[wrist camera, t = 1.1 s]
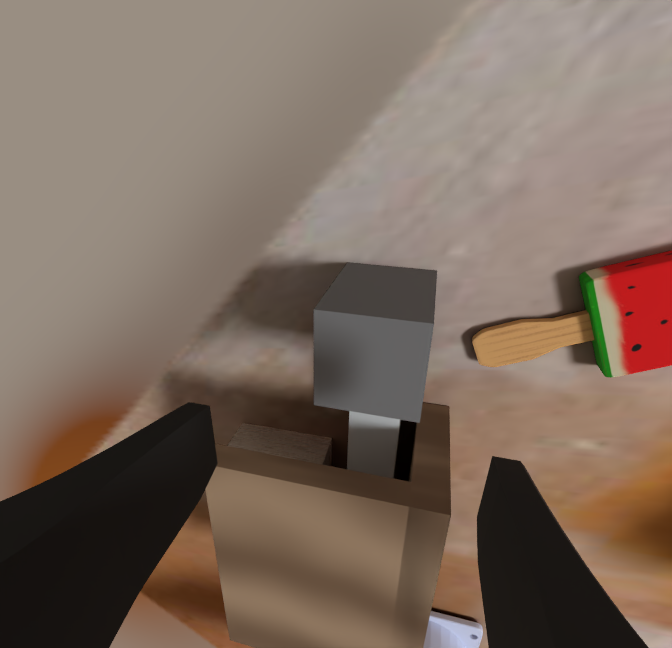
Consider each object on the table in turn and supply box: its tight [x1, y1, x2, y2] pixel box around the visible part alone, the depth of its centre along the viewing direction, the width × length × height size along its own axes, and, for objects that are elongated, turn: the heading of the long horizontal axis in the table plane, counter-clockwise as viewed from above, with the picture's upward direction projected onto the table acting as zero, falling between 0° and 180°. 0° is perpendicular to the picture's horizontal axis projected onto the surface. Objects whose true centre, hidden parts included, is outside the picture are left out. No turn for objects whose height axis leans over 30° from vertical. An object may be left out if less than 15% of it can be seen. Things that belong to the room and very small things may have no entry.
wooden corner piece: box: [205, 403, 451, 648], centre depth 22 cm, size 13×10×7 cm
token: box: [227, 423, 332, 466], centre depth 25 cm, size 6×6×2 cm
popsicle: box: [472, 250, 672, 377], centre depth 16 cm, size 4×2×15 cm
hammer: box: [314, 262, 437, 479], centre depth 20 cm, size 18×4×6 cm, turn 179°
